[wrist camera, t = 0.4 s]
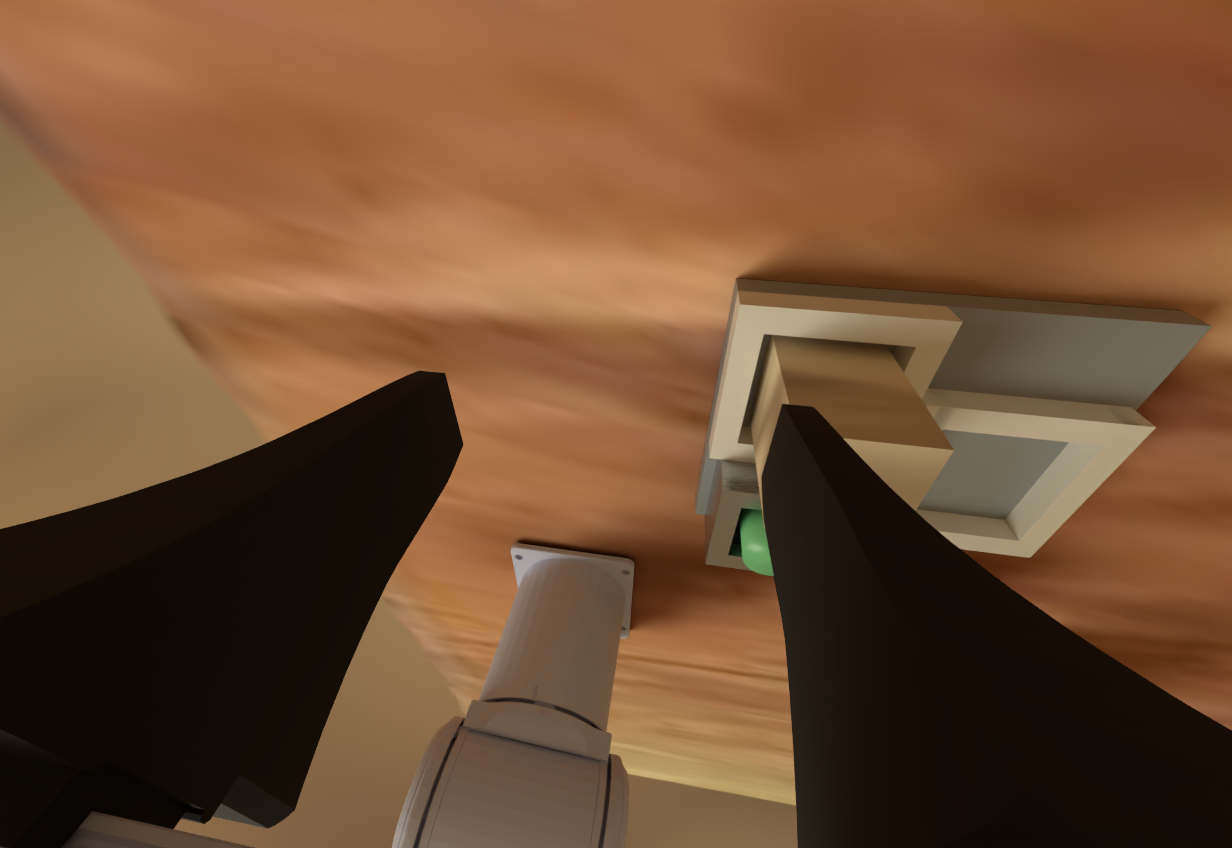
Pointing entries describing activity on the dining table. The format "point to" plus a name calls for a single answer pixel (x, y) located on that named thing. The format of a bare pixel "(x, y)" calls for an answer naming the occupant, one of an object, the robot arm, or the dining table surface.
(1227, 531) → the dining table surface
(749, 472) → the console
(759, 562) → the button
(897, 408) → the beech block
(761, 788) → the dining table surface
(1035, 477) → the grey compartment tray
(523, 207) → the dining table surface
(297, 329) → the dining table surface
